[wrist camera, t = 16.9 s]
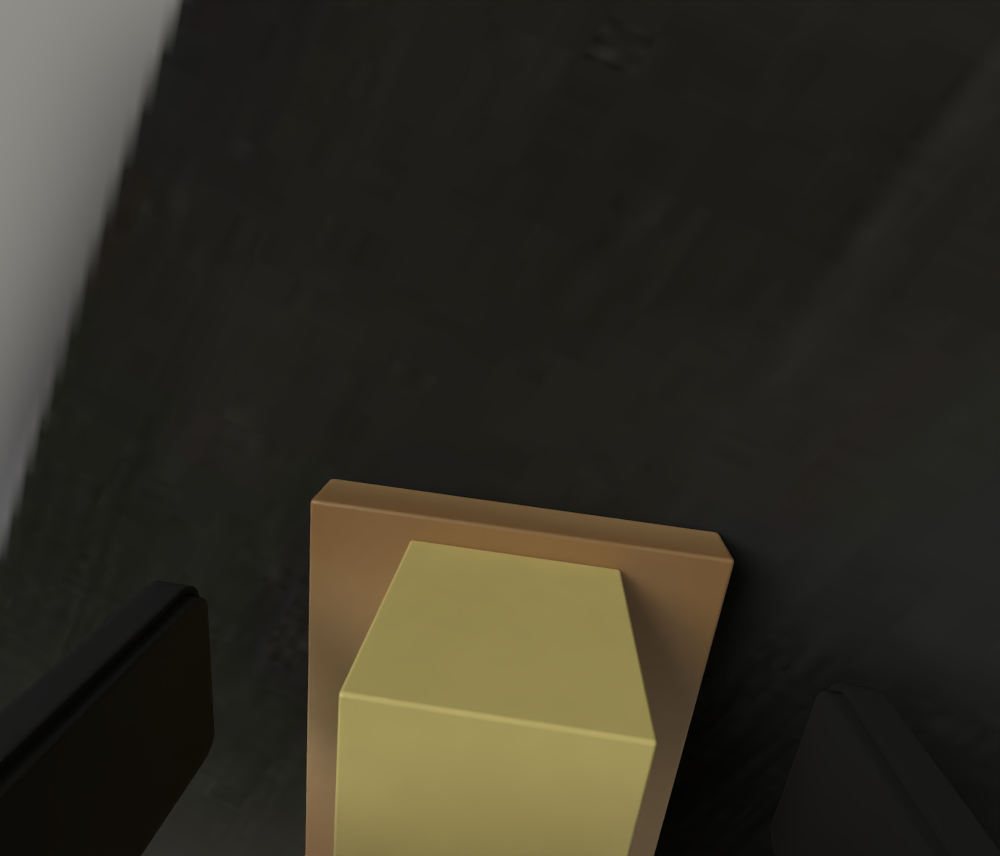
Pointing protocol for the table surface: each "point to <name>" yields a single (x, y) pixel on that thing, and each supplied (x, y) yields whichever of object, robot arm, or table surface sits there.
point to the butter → (494, 713)
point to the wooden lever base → (518, 531)
